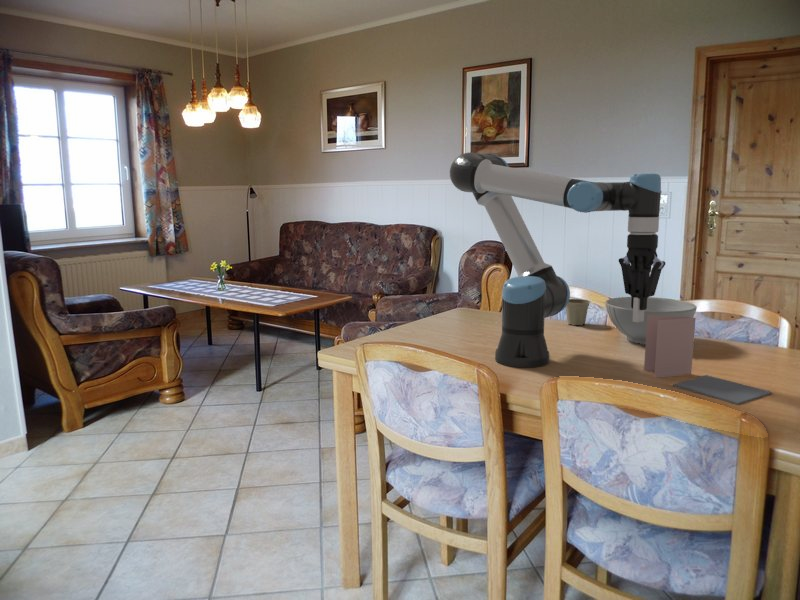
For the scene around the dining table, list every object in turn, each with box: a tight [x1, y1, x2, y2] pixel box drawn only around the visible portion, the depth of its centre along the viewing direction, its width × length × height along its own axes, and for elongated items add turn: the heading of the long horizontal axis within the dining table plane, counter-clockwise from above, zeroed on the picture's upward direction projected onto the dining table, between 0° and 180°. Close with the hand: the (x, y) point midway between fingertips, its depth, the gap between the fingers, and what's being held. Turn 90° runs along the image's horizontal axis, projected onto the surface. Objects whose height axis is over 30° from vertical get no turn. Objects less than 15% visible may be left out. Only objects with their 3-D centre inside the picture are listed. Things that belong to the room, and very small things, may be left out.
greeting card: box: [643, 315, 696, 379], centre depth 152 cm, size 11×7×15 cm, turn 71°
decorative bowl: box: [604, 296, 698, 345], centre depth 189 cm, size 27×27×12 cm
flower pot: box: [565, 298, 592, 326], centre depth 215 cm, size 9×9×9 cm
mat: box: [672, 374, 773, 406], centre depth 142 cm, size 14×16×1 cm
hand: (638, 321), depth 160 cm, fingers closed
